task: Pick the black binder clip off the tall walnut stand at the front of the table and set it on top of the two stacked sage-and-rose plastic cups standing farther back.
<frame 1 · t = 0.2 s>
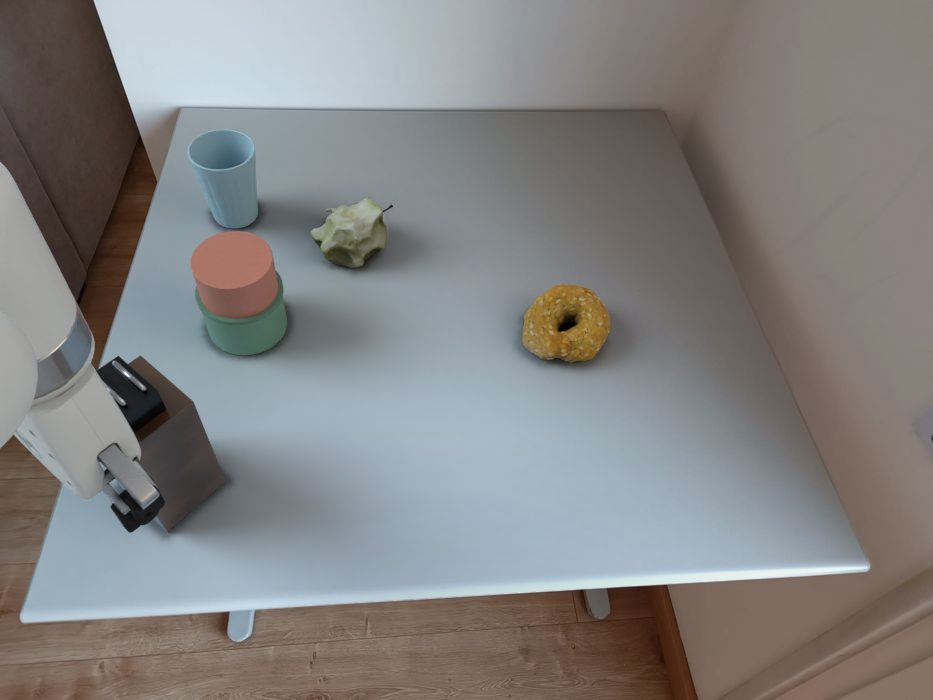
hand: (106, 478, 55), 14 cm above the table, tool pointing down, fingers open, 9 cm apart
clip: (130, 404, 58), point 15 cm above the table, touching clip stand
bagel: (561, 336, 86), on the table
fruit: (352, 249, 91), on the table
clip stand: (174, 484, 70), on the table
cup: (236, 215, 93), on the table
cup stack: (248, 324, 82), on the table
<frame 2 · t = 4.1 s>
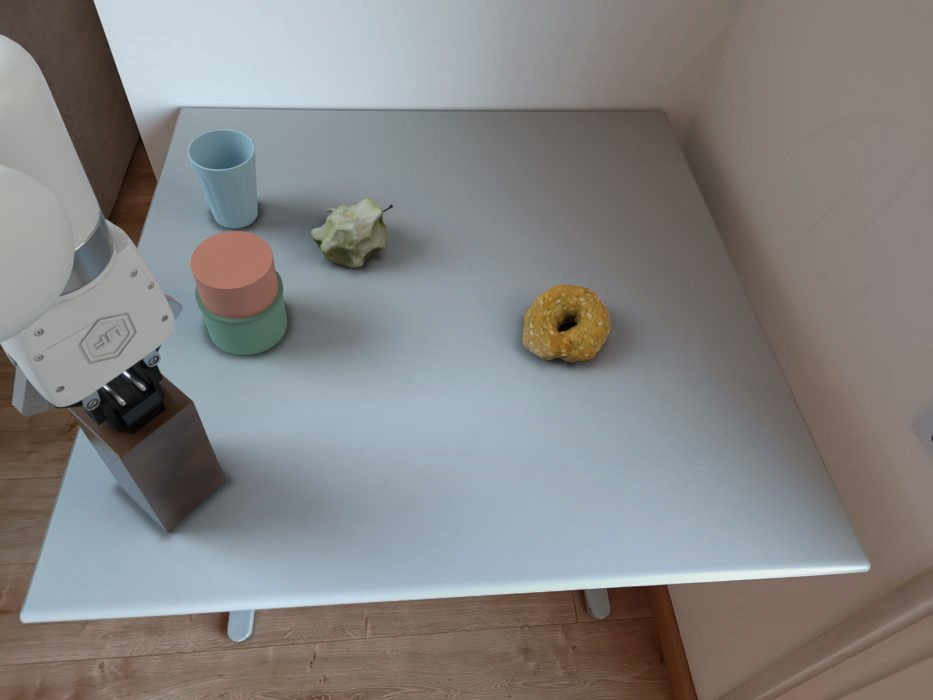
hand: (129, 402, 58), 15 cm above the table, tool pointing down, fingers closed on clip, 3 cm apart
clip: (130, 404, 58), point 15 cm above the table, touching clip stand, gripper
everything else where it was.
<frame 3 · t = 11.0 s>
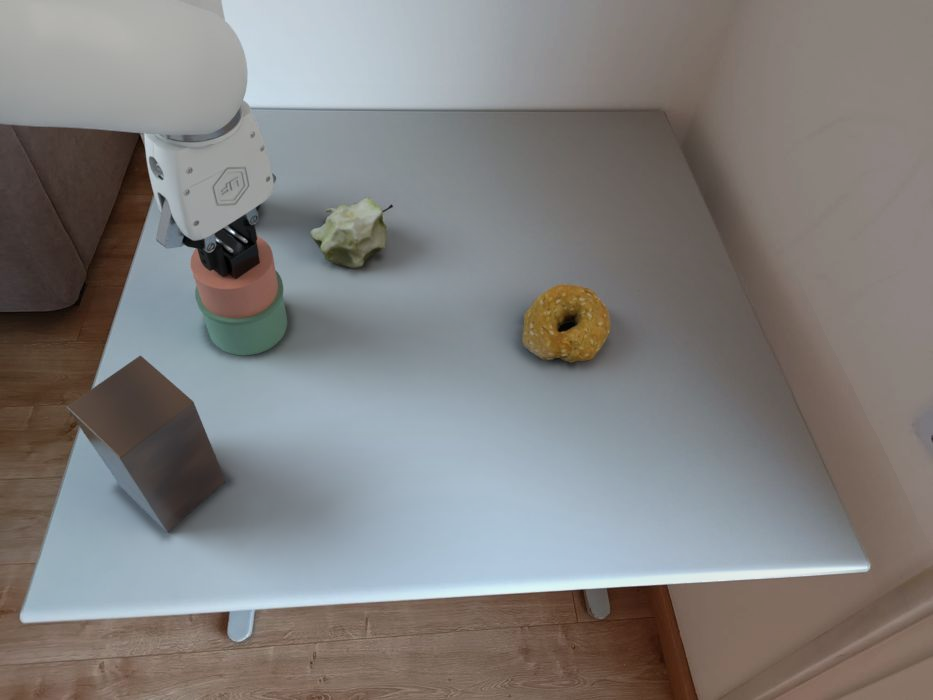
hand: (231, 257, 73), 11 cm above the table, tool pointing down, fingers closed on clip, 3 cm apart
clip: (231, 258, 73), point 11 cm above the table, touching gripper
everything else where it was.
when the fingers open (12 cm above the table, at t = 14.8 s): clip stays where it is, resting on cup stack.
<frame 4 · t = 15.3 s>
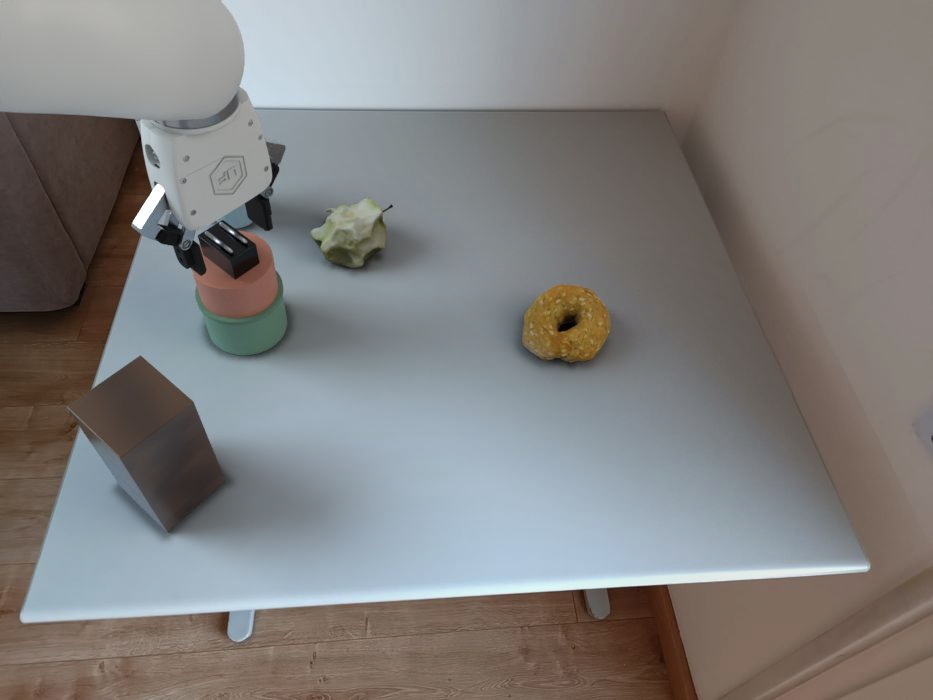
hand: (228, 244, 72), 13 cm above the table, tool pointing down, fingers open, 7 cm apart
clip: (231, 259, 73), point 11 cm above the table, touching cup stack
everything else where it was.
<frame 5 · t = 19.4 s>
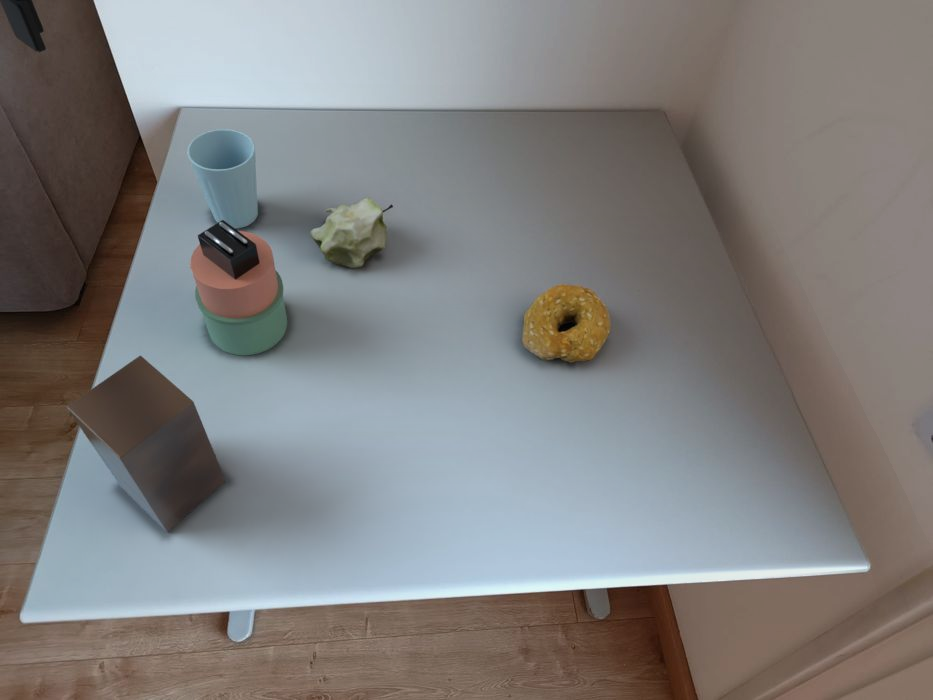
nothing on the table moved.
at the end: clip 0.0 cm off-centre on the cup stack, point 11.0 cm above the cup stack's base; the gripper is holding nothing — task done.
